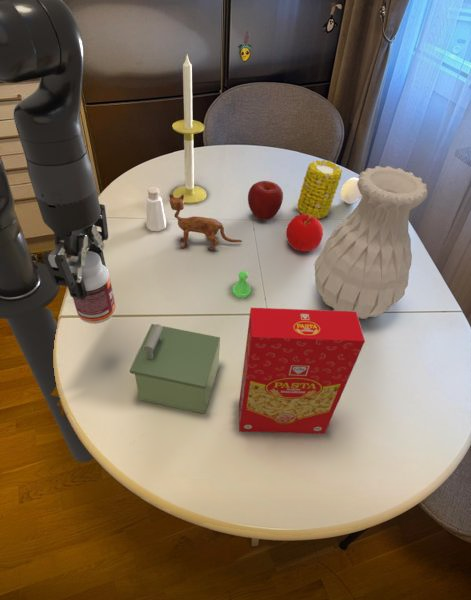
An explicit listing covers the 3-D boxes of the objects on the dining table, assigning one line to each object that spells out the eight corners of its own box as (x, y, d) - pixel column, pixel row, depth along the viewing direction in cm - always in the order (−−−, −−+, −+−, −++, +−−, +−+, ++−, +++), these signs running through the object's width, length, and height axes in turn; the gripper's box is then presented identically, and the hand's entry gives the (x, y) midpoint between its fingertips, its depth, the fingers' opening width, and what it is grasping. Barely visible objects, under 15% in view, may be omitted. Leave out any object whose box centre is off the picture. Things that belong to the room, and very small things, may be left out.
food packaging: (239, 431, 71) (251, 336, 53) (238, 404, 75) (250, 307, 57) (324, 433, 72) (364, 341, 54) (320, 406, 75) (356, 311, 58)
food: (290, 211, 124) (320, 207, 127) (310, 224, 115) (341, 221, 118) (295, 158, 116) (327, 156, 119) (317, 168, 107) (350, 166, 110)
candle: (165, 194, 123) (156, 51, 97) (189, 182, 129) (187, 44, 103) (189, 207, 119) (186, 62, 93) (213, 194, 125) (217, 54, 98)
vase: (299, 271, 102) (325, 154, 81) (378, 270, 104) (423, 156, 83) (318, 334, 88) (356, 212, 67) (408, 331, 90) (473, 212, 69)
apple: (284, 224, 116) (289, 192, 109) (251, 227, 114) (254, 195, 107) (273, 205, 122) (278, 174, 115) (242, 208, 120) (245, 176, 113)
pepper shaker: (153, 218, 114) (150, 181, 107) (170, 224, 113) (168, 187, 105) (142, 228, 111) (137, 191, 103) (159, 234, 109) (156, 197, 102)
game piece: (236, 283, 98) (237, 263, 93) (253, 288, 97) (255, 268, 92) (229, 294, 95) (230, 274, 90) (246, 300, 94) (249, 280, 90)
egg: (349, 195, 129) (356, 171, 124) (363, 205, 126) (371, 181, 120) (333, 199, 127) (339, 175, 121) (347, 210, 123) (354, 186, 118)
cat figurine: (241, 237, 110) (245, 191, 101) (242, 253, 106) (246, 206, 96) (172, 235, 109) (170, 188, 100) (170, 251, 105) (167, 203, 95)
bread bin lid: (130, 373, 69) (126, 356, 66) (152, 326, 76) (149, 310, 73) (205, 389, 68) (205, 373, 64) (220, 340, 75) (220, 323, 72)
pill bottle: (122, 316, 69) (112, 265, 62) (86, 330, 67) (71, 279, 59) (107, 293, 73) (96, 243, 65) (72, 307, 70) (56, 255, 62)
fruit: (281, 252, 107) (286, 219, 100) (287, 233, 113) (293, 200, 106) (316, 260, 105) (325, 227, 98) (321, 240, 112) (329, 208, 105)
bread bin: (139, 399, 74) (134, 374, 69) (159, 353, 82) (156, 327, 76) (204, 414, 73) (205, 389, 68) (218, 366, 80) (220, 340, 75)
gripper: (64, 157, 59) (87, 250, 71) (5, 211, 49) (43, 310, 61) (115, 164, 58) (129, 258, 70) (65, 221, 48) (92, 319, 60)
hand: (89, 282), depth 65 cm, fingers closed on pill bottle, 6 cm apart
